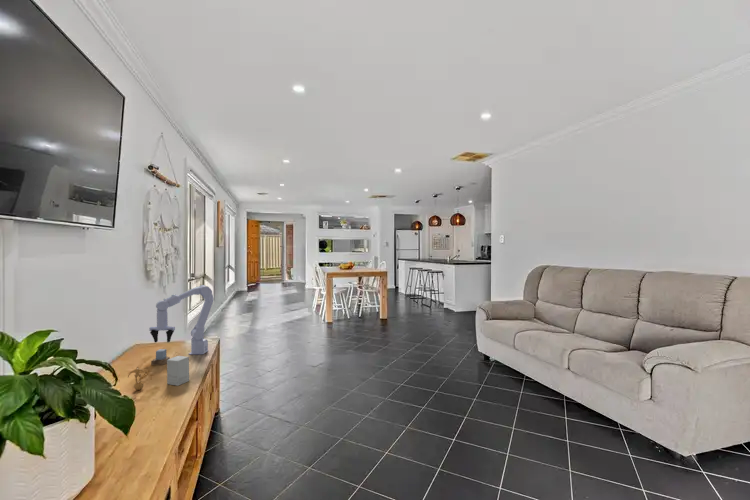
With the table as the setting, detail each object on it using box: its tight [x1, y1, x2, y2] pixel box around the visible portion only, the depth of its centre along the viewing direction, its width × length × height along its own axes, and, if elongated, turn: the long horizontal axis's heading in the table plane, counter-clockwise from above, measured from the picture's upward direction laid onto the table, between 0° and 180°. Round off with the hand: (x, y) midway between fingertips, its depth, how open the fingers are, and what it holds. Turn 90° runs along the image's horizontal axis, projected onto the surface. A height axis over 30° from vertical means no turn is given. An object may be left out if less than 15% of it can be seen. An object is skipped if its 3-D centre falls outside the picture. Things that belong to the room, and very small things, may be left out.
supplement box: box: [166, 355, 190, 387], centre depth 184 cm, size 7×7×13 cm
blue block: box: [155, 348, 167, 360], centre depth 214 cm, size 4×4×5 cm
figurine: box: [127, 366, 149, 391], centre depth 173 cm, size 8×6×12 cm
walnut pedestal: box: [150, 356, 171, 366], centre depth 213 cm, size 7×7×3 cm
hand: (162, 342), depth 221 cm, fingers open, 7 cm apart
